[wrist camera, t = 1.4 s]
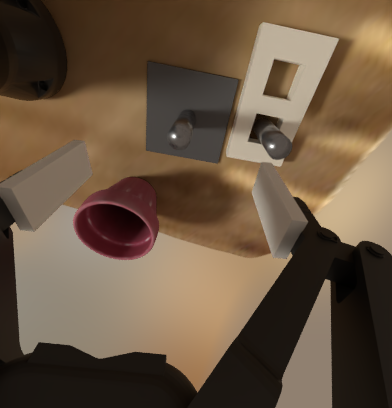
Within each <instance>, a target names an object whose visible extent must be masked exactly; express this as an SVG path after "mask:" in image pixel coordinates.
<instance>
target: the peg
mask: <svg viewBox="0 0 392 408" xmlns="http://www.w3.org/2000/svg"><path fill="white" fill-rule="evenodd" d="M195 122H196V116H195V114H194V113H193V112H192V111H191V110H183V111H182V112H181V113H180V114H179V116H178V117H177V119H176V121H175V122H174V124H173V125H172V127H171V129H170V130H169V132H168V134H167V141H168V143H169V145H170V146H171V147H172V148H173V149H175V150H184V149H186V148H187V147H188V146H189V144H190V141H191V137H192V133H193V129H194V126H195Z"/></svg>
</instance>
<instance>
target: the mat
mask: <svg viewBox="0 0 392 408" xmlns="http://www.w3.org/2000/svg"><path fill="white" fill-rule="evenodd" d="M237 84H238V79H233V78H228V77H223V76H218V75H213V74H208V73H203V72H199V71H194V70H189V69H184V68H179V67H174V66H169V65H164V64H159V63H154V62H150V61H148V69H147V126H146V151H152V152H157V153H163V154H168V155H174V156H179V157H184V158H190V159H195V160H201V161H206V162H212V163H217V164H218V160H219V156H220V152H221V148H222V144H223V140H224V136H225V132H226V128H227V124H228V120H229V116H230V112H231V108H232V104H233V100H234V96H235V92H236V88H237ZM183 110H191V111H192V112H193V113H194V114H195V116H196V122H195V126H194V129H193V133H192V137H191V141H190V144H189V146H188V147H187V148H186V149H184V150H175V149H173V148H172V147H171V146H170V145H169V143H168V141H167V134H168V132H169V130H170V129H171V127H172V125H173V124H174V122H175V121H176V119H177V117H178V116H179V114H180V113H181V112H182V111H183Z"/></svg>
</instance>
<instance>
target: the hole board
mask: <svg viewBox="0 0 392 408" xmlns="http://www.w3.org/2000/svg"><path fill="white" fill-rule="evenodd" d="M338 40H339V39H338V38H334V37H329V36H325V35H320V34H315V33H311V32H306V31H302V30H297V29H293V28H288V27H283V26H279V25H274V24H270V23H265V22H263V23H262V24H260V25H259V29H258V32H257V36H256V40H255V44H254V48H253V51H252V55H251V59H250V63H249V66H248V70H247V74H246V78H245V81H244V85H243V89H242V93H241V96H240V100H239V104H238V108H237V112H236V115H235V119H234V123H233V127H232V130H231V134H230V138H229V142H228V145H227V149H226V155H227V157H231V158H237V159H242V160H248V161H253V162H258V163H261V162H268V163H272V164H273V165H275V166H280V167H281V165H282V163H283V161H284V158H283V159H280V160H274V159H272V158H271V157H270V156H269V155H268V153H267V152H266V150H265V148H264V147H263V145H262V144H261V142H260V140H258V139H252V138H249V135H250V132H251V129H252V126H253V123H254V120H255V117H256V114H262V115H267V116H273V117H278V118H279V119H278V121H277V124H276V127H277V128H278V129H279V130H280V131H281V132H282V133H283V134H284V135H285V136H286V137H287V138H288V139H290V141H291V142H292V141H293V139H294V136H295V134H296V132H297V130H298V128H299V126H300V123H301V121H302V119H303V117H304V115H305V112H306V110H307V108H308V106H309V104H310V102H311V99H312V97H313V95H314V93H315V91H316V88H317V86H318V84H319V82H320V80H321V77H322V75H323V73H324V71H325V69H326V67H327V64H328V62H329V60H330V58H331V56H332V53H333V51H334V49H335V47H336V45H337V42H338ZM274 60H278V61H283V62H287V63H292V64H297V65H299V67H298V70H297V73H296V75H295V78H294V80H293V83H292V85H291V88H290V91H289V93H288V96H287V98H286V99H284V98H279V97H274V96H269V95H264V94H263V92H264V89H265V86H266V83H267V79H268V76H269V73H270V70H271V67H272V64H273V61H274Z"/></svg>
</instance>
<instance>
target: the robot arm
mask: <svg viewBox="0 0 392 408" xmlns="http://www.w3.org/2000/svg"><path fill="white" fill-rule="evenodd" d="M66 71H67V59H66V52H65V47H64V43H63V40H62V37H61V34H60V32H59V30H58V27H57V25H56V23H55V21H54V19H53V18H52V16H51V14H50V13H49V11H48V10H47V8H46V7H45V5H44V4H43V3H42V1H41V0H0V95H1V96H6V97H10V98H15V99H19V100H26V101H33V100H40V99H44V98H48V97H51V96H53V95H54V94H55V93H57V92H58V91H59V90H60V88H61V87H62V85H63V83H64V80H65V77H66ZM92 175H93V174H92V170H91V166H90V161H89V157H88V153H87V149H86V144H85V141H80V140H73V141H71V142H70V143H68V144H66V145H65V146H63V147H61V148H59V149H58V150H56V151H54V152H53V153H51V154H49V155H48V156H46V157H44V158H42V159H41V160H39V161H37V162H36V163H34V164H32V165H31V166H29V167H27V168H25V169H24V170H21V171H19V172H17V173H15V174H14V175H13V176H10V177H9V178H7V180H3V181H2V182H0V408H275V407H276V404H277V402H278V399H279V396H280V394H281V390H282V377H283V374H284V372H285V369H286V367H287V365H288V363H289V360H290V358H291V356H292V353H293V351H294V348H295V347H296V344H297V342H298V340H299V338H300V335H301V332H302V331H303V328H304V326H305V324H306V321H307V319H308V317H309V315H310V312H311V310H312V308H313V305H314V303H315V301H316V299H317V296H318V294H319V292H320V289H321V287H322V285H323V283H324V280H325V279H328V280H330V281H331V349H332V408H392V255H391V254H390V253H389V252H388V251H387V250H386V249H385V248H383V247H382V246H380V245H378V244H375V243H373V242H369V241H362V242H360V243H359V244H358V245H357V246H356V247H354V246H351V245H349V244H345V243H342V242H341V241H340V239H339V237H338V236H337V235H336V234H335V233H334V232H332V231H331V230H329V229H326V228H323V227H321V226H320V225H319V223H318V221H317V220H316V219H315V217H314V216H313V214H311V211H310V210H309V209H308V207H307V205H306V204H305V202H303V201H302V200H301V199H300V198H298V197H293V196H292V195H291V193H290V192H289V190H288V188H287V187H286V185H285V183H284V182H283V180H282V179H281V177H280V175H279V174H278V172H277V171H276V169H275V167H274V166H273V164H272V163H268V162H261V165H260V168H259V171H258V175H257V178H256V181H255V184H254V187H253V190H252V195H253V198H254V201H255V204H256V207H257V210H258V213H259V216H260V220H261V223H262V226H263V229H264V232H265V235H266V238H267V241H268V244H269V247H270V250H271V253H272V256H273V258H283V259H287V257H288V256H289V254H290V252H291V253H292V255H293V256H292V258H291V259H290V261H289V262H288V264H287V265H286V267H285V268H284V270H283V271H282V273H281V274H280V275H279V277H278V279H277V280H276V281H275V283H274V284H273V286H272V287H271V289H270V290H269V292H268V293H267V294H266V296H265V297H264V299H263V300H262V302H261V303H260V305H259V306H258V308H257V309H256V310H255V312H254V313H253V315H252V316H251V318H250V319H249V321H248V322H247V324H246V325H245V326H244V328H243V329H242V331H241V332H240V334H239V335H238V337H237V338H236V339H235V340H234V341H233V342H232V344H231V345H230V347H229V348H228V349H227V351H226V352H225V354H224V355H223V357H222V358H221V360H220V361H219V363H218V364H217V365H216V367H215V368H214V370H213V371H212V373H211V374H210V376H209V377H208V378H207V380H206V381H205V383H204V384H203V386H202V387H201V389H200V390H199V392H198V393H197V391H196V390H195V388H194V386H193V385H192V384H191V382H190V381H189V380H188V379H187V377H186V376H185V375H184V374H183V373H182V372H181V371H179V370H178V369H177V368H175V367H173V366H172V365H170V364H168V363H166V355H162V354H152V353H142V352H132V353H127V354H123V355H118V356H113V357H108V358H103V359H98V358H95V357H93V356H91V355H89V354H87V353H85V352H83V351H81V350H79V349H76V348H75V347H73V346H70V345H60V344H51V343H41V342H40V343H38V345H37V346H36V348H35V349H34V351H33V352H32V353H29V354H26V355H24V354H23V352H22V350H21V347H20V342H19V327H18V310H17V294H16V279H15V263H14V247H13V232H12V230H11V228H10V226H11V225H12V224H13V223H14V222H16V224H17V226H18V227H19V229H20V230H25V231H33V232H34V231H35V230H36V229H38V228H39V227H40V226H41V225H42V224H43V223H44V222H45V221H46V220H47V219H48V218H49V217H50V216H51V215H52V214H53V213H54V212H55V211H56V210H57V209H58V208H59V207H60V206H61V205H62V204H63V203H64V202H65V201H66V200H67V199H68V198H69V197H70V196H71V195H72V194H73V193H74V192H75V191H76V190H77V189H78V188H79V187H80V186H81V185H82V184H83V183H84V182H86V181H87V180H88V179H89V178H90V177H91V176H92Z"/></svg>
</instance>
